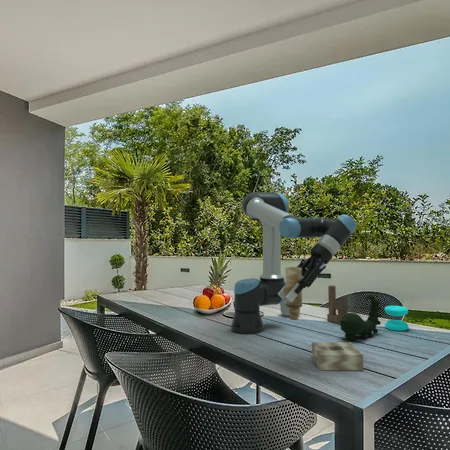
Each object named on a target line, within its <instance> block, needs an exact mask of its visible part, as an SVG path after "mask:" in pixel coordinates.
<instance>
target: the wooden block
mask: <svg viewBox="0 0 450 450" xmlns="http://www.w3.org/2000/svg"><path fill="white" fill-rule="evenodd" d="M327 287H328V288H327V289H328V293H327V294H328V296H327V297H328V313H327V314H326V315H327V316H326V318H327V319H326V321H327V322H330V323H333V324H337V325H340V320H341V319H342V317H343V316H344V315H345V314H347V313H349V312H348V311H349V301H348V300H349V299H348V295H342V296H341V297H340V298H339V299H338V300H337V299H336V298H337V296H336V295H337V291H336V290H337V289H336V285H328V286H327Z"/></svg>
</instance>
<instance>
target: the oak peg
mask: <svg viewBox="0 0 450 450" xmlns="http://www.w3.org/2000/svg"><path fill="white" fill-rule="evenodd" d="M302 278H303V277H302V268H300V267H297V266H296V267H295V266H289V267H285V280H286V296H287V295H288V293H289V292H290V291H291V290H292V289H293V287H294V286H295V285H296V284H297V283H299V282H298V281H301V279H302ZM299 284H300V283H299ZM286 306H287V307H289V313H290V317H289V318H290V320H292V321H298V320H299V314H300V313H299V307H300V308H302V307H303V290H302V291H301V292H300V293H299V294H298V296H297V297H296V298H295V299H294V300H293V302H292V303H291V302H290V301H289V300H288V299H287V298H286ZM298 313H299V314H298Z"/></svg>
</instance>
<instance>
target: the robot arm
mask: <svg viewBox="0 0 450 450" xmlns="http://www.w3.org/2000/svg"><path fill="white" fill-rule="evenodd" d="M241 209H242V212H243V213H244V214H245V215H246V216H248V217H250V218H251V219H258V220H259V222H260V223H262V273H261V275H260V276H259V278H255V277H254V278H253V277H251V278H244V279H240V280H237V281H235V284H234V287H233V288H234V289H233V293H234V295H233V296H234V315H233V318H232V321H231V325H230V326H231V328H230V329H231V331H232V332H234V333H236V334H244V335H246V334H247V335H248V334H249V335H252V334H253V335H254V334H258V333H262V332H264V329H265V328H264V321H263V320H262V316H261V313H260V307H263V306H271V305H272V306H273V305H274V306H275V305H280V303H283V302H285V300H286V298H287V299H288V300H289V301H290V302H291V303H292V302H293V300H294V299H295V298H296V297H297V296H298V294H299V293H300V292H301V291H302V292H303V290H304V289H306V287H307V288H310V287H311V286H312V284H313V283H314V282H315V281H316V280H317V279H318V276H320V274H321V273H322V272H323V271H324V270H325V269H326V268H327V264H329V262H330V261H331V260H332V259H333V256H335V255H336V254H337V253H338V252H339V250H340V249H341V248H342V247H343V245H344V244H345V243H346V242H347V241H348V239H349V238H350V237H351V236H352V235H353V233H354V232H355V230H356V229H357V228H358V227H357V225H358V224H357V222H356V221H355V219H353V218H352V217H351V216H350V215H347V214H340V215H339V216H338V217H337V218H336V219H331V218H324V217H321V216H320V217H319V216H315V217H296V216H294V215H293V214H290V213H289V210H290V205H289V201H288V199H287V197H286V196H285V194H283V193H280V192H267V191H266V192H264V191H263V192H261V191H254V192H249V193H247V195H246V196H244V197H243V200H242V202H241ZM281 236H282V237H283V238H286V239H288V238H289V239H300V238H302V239H303V238H305V239H307V238H320V239H319V240H318V241H317V243H316V244H314V245H313V247H312V248H311V249H310V256H309V257H308V258H307V259H305V258H302V259H301V261H300V262H299V264H298V265H297V266H296V267H300V268H302V279H301V281H298V282H299V283H300V284H299V283H297V284H296V285H295V286H294V287H293V289H292V290H291V291H290V292H289V293H288V295H287V296H286V279H285V276H284V275H283V274H282V271H281V270H282V267H281V266H282V261H281V257H282V256H281V255H282V253H281V252H282V251H281V250H282V248H281V244H282V243H281V242H282V241H281V239H282V238H281Z"/></svg>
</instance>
